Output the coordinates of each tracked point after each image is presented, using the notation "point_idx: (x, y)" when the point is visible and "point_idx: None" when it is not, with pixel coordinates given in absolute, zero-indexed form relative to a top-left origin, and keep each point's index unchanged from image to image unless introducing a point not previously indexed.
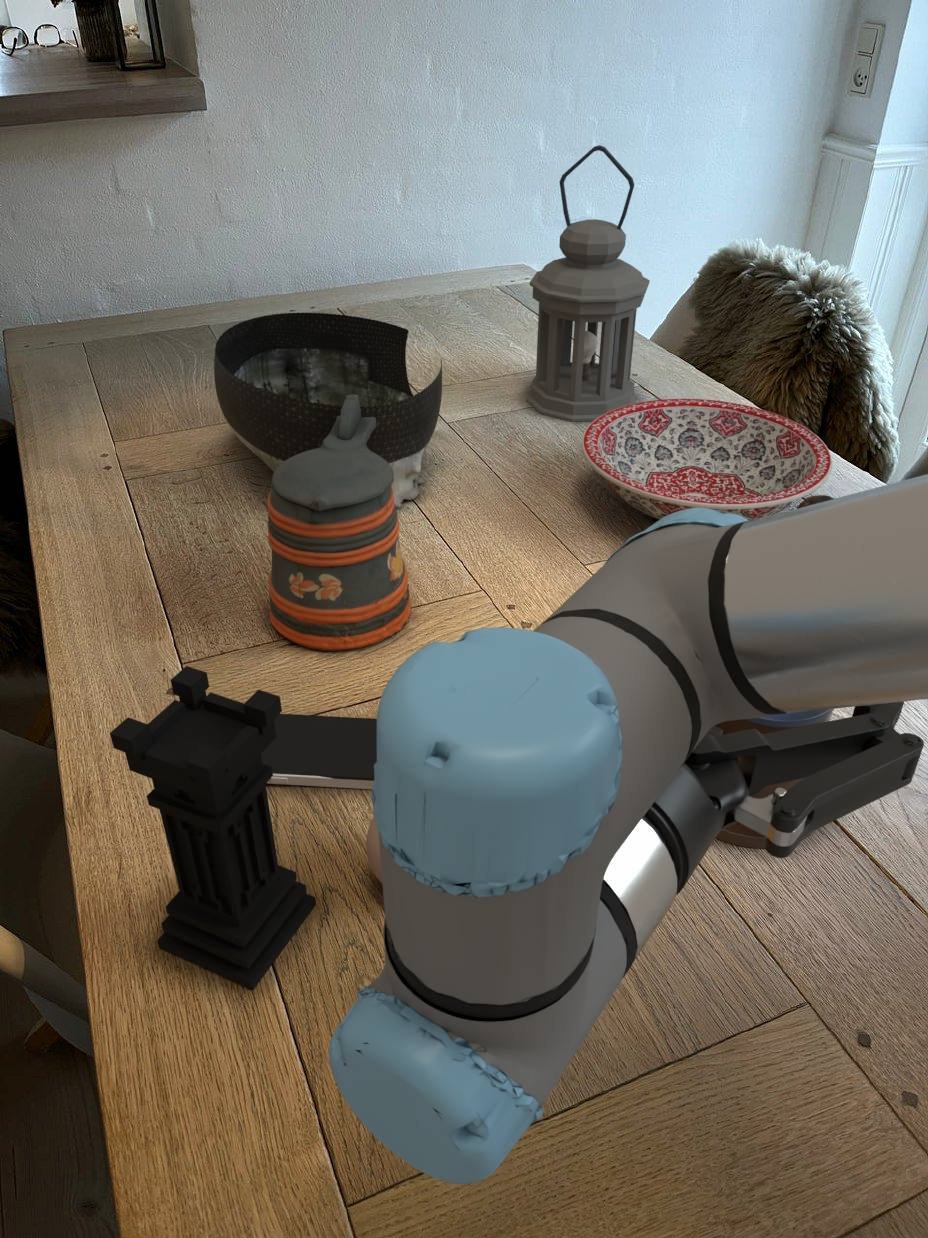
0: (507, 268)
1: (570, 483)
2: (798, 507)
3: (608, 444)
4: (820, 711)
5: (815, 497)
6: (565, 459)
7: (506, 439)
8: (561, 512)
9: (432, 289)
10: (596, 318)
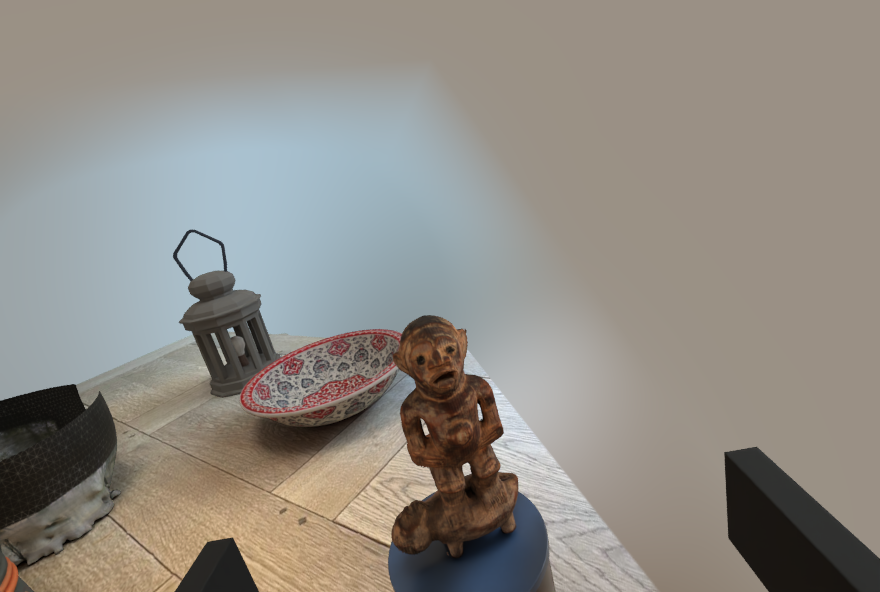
0: None
1: (249, 432)
2: (401, 341)
3: (263, 393)
4: (542, 554)
5: (413, 322)
6: (243, 417)
7: (197, 425)
8: (245, 457)
9: (145, 360)
10: (232, 324)
